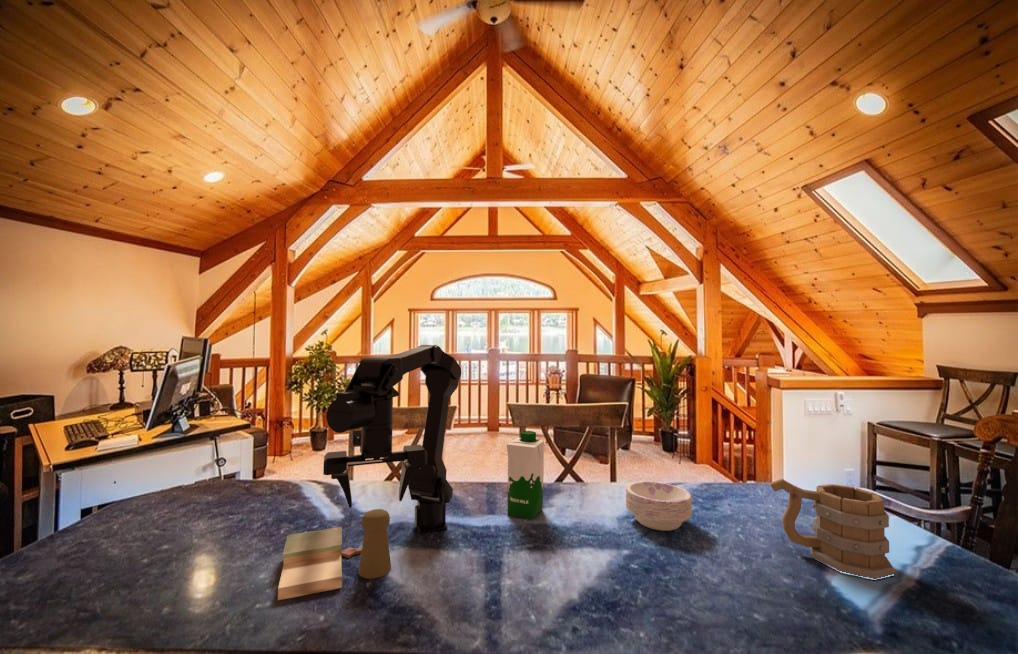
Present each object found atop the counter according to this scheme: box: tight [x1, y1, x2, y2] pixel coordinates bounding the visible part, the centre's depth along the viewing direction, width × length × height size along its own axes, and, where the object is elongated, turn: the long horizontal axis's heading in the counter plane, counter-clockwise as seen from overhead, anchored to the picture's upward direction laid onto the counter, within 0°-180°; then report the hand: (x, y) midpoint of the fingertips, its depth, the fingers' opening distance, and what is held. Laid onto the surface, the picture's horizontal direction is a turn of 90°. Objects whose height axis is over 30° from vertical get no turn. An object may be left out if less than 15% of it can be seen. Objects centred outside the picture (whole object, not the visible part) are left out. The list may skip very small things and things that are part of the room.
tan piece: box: [277, 526, 362, 601], centre depth 82 cm, size 16×16×4 cm
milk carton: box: [506, 430, 545, 521], centre depth 108 cm, size 9×9×20 cm
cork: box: [357, 508, 392, 579], centre depth 81 cm, size 6×6×11 cm
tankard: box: [769, 478, 896, 579], centre depth 87 cm, size 20×13×15 cm, turn 62°
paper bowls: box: [625, 480, 693, 532], centre depth 103 cm, size 15×15×8 cm
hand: (375, 503), depth 81 cm, fingers open, 9 cm apart
